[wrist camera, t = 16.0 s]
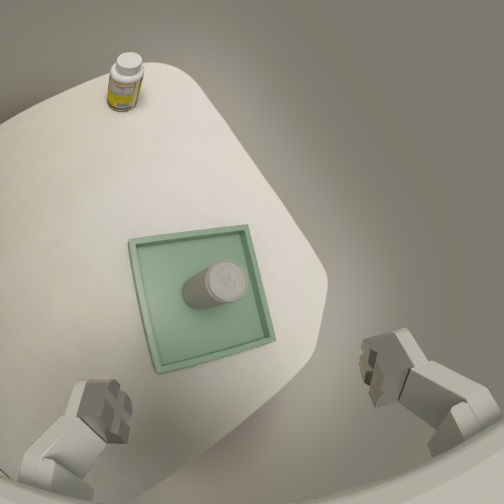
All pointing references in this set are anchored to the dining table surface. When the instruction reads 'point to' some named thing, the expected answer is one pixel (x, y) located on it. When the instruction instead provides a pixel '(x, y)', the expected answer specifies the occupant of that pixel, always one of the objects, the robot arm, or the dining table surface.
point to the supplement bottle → (125, 81)
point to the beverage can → (216, 285)
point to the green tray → (185, 317)
